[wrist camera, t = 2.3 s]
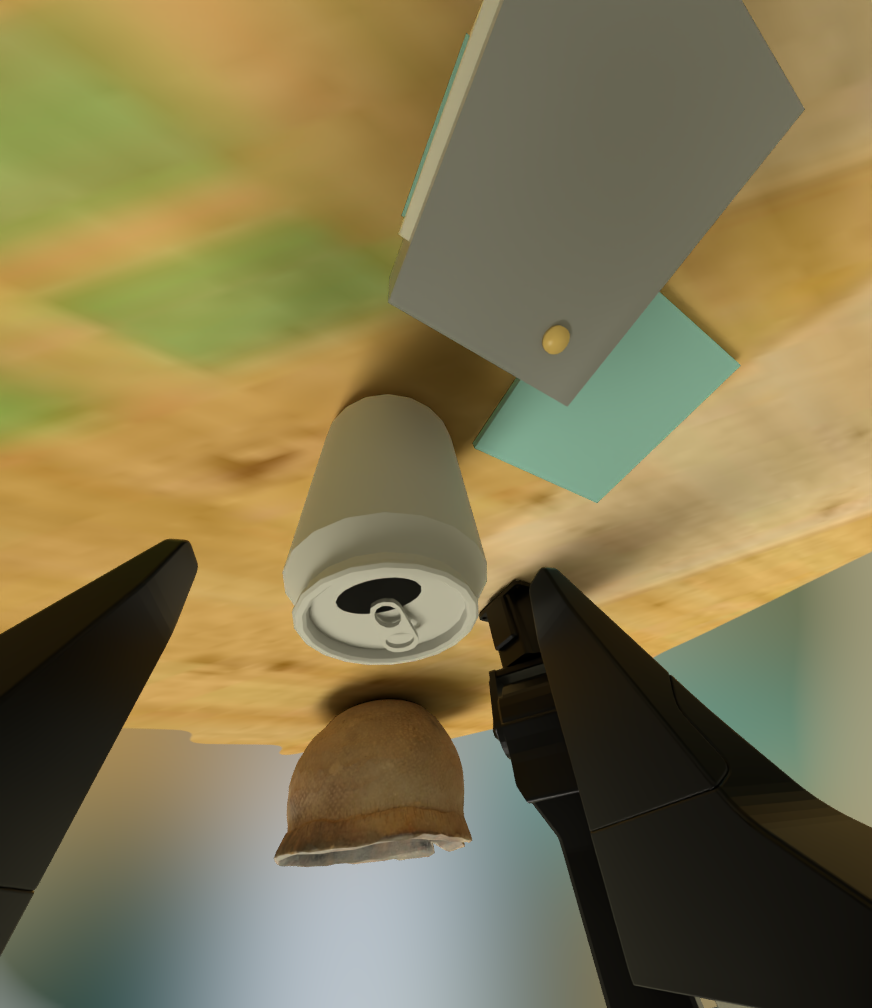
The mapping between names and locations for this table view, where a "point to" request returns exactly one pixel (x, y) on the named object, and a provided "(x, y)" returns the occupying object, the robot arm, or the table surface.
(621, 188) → the unit
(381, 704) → the ceramic bowl
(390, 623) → the can
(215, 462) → the table surface
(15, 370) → the table surface
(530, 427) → the mat
